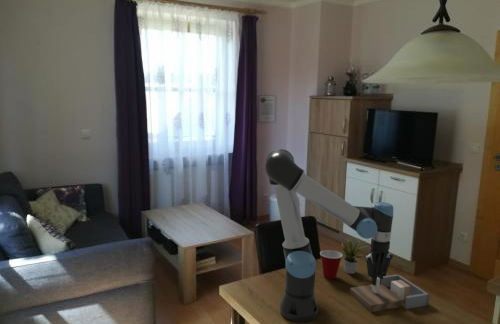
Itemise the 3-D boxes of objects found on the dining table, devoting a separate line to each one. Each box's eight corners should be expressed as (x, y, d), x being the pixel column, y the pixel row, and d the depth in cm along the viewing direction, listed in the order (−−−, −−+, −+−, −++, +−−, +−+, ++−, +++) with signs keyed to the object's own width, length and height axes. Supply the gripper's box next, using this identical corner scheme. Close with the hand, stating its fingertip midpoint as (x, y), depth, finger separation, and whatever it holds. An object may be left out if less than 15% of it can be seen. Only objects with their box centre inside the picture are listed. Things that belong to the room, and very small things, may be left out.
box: (406, 309, 159) (407, 297, 158) (377, 287, 177) (378, 277, 176) (427, 305, 162) (429, 294, 161) (397, 284, 180) (398, 274, 179)
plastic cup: (339, 272, 191) (341, 249, 189) (342, 282, 180) (344, 258, 178) (317, 270, 192) (318, 248, 190) (319, 281, 181) (320, 257, 179)
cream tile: (400, 287, 165) (405, 287, 165) (391, 281, 170) (395, 280, 171) (398, 300, 166) (403, 299, 166) (389, 293, 171) (394, 293, 172)
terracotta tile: (405, 286, 165) (410, 286, 166) (396, 280, 171) (400, 279, 172) (404, 299, 166) (408, 298, 167) (394, 292, 172) (399, 292, 173)
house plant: (367, 267, 197) (369, 237, 194) (367, 279, 184) (370, 247, 181) (338, 263, 201) (340, 233, 198) (337, 275, 188) (339, 243, 185)
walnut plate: (370, 312, 156) (370, 305, 155) (349, 294, 170) (350, 287, 169) (402, 306, 161) (403, 299, 160) (380, 289, 175) (380, 283, 174)
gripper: (373, 243, 155) (367, 298, 159) (399, 241, 160) (393, 294, 164) (362, 237, 162) (357, 289, 166) (387, 235, 166) (382, 285, 170)
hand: (375, 291), depth 165 cm, fingers closed
